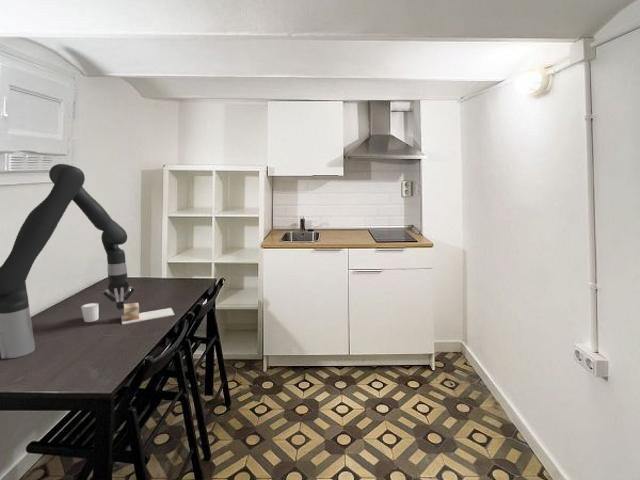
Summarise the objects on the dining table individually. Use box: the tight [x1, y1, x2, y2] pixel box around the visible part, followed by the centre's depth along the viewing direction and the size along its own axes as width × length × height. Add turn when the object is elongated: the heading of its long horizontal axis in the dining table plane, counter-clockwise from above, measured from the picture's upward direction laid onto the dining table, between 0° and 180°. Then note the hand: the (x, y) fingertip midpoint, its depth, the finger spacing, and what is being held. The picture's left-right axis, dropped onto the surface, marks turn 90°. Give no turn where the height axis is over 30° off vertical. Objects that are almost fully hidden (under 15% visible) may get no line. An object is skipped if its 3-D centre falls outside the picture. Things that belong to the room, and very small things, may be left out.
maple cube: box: [123, 302, 140, 321], centre depth 163 cm, size 6×6×6 cm
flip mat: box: [121, 307, 175, 325], centre depth 167 cm, size 22×10×1 cm, turn 121°
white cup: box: [80, 302, 100, 323], centre depth 162 cm, size 7×7×7 cm
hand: (120, 309), depth 160 cm, fingers closed
